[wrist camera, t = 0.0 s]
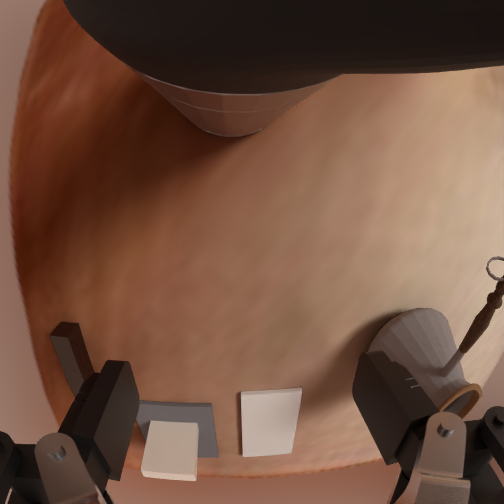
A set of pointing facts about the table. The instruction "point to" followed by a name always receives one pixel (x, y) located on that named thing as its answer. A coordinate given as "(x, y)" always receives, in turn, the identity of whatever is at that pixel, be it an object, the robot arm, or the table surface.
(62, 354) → the grey post on base
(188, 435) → the tile
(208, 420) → the mat
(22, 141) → the table surface
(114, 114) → the table surface
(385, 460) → the robot arm
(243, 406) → the rest pad
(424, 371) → the coffee pot
